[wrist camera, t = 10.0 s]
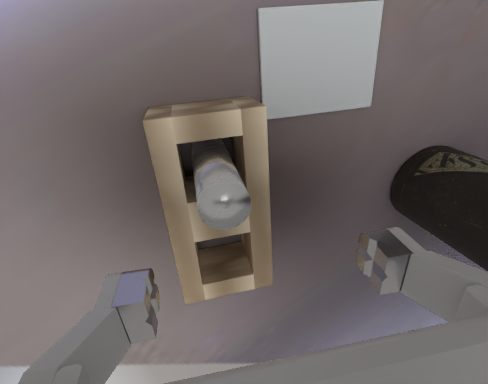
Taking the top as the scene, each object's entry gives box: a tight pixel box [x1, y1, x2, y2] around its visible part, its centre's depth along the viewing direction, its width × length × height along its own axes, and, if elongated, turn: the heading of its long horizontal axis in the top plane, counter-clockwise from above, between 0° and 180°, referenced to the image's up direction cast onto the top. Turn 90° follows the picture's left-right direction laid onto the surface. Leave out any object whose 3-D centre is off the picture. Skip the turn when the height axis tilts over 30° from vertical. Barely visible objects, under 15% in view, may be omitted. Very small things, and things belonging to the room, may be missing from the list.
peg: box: [191, 138, 251, 230], centre depth 20 cm, size 3×3×10 cm
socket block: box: [143, 96, 273, 304], centre depth 24 cm, size 8×16×5 cm, turn 4°
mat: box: [257, 0, 384, 120], centre depth 23 cm, size 10×8×1 cm
